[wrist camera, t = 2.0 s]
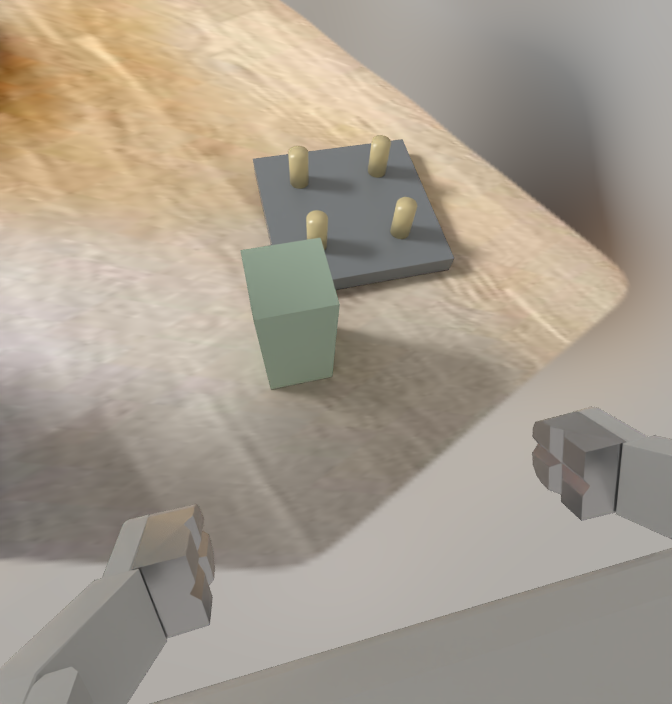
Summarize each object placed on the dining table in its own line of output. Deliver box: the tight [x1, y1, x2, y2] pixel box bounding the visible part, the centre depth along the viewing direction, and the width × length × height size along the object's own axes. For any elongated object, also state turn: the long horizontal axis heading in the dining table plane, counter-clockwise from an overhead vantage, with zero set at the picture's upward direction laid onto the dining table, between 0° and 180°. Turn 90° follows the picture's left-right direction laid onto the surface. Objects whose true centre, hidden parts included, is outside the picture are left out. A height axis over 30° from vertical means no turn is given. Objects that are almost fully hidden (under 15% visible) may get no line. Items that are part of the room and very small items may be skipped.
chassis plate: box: [253, 135, 454, 290], centre depth 36 cm, size 14×14×4 cm
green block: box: [241, 238, 340, 389], centre depth 28 cm, size 4×4×10 cm
